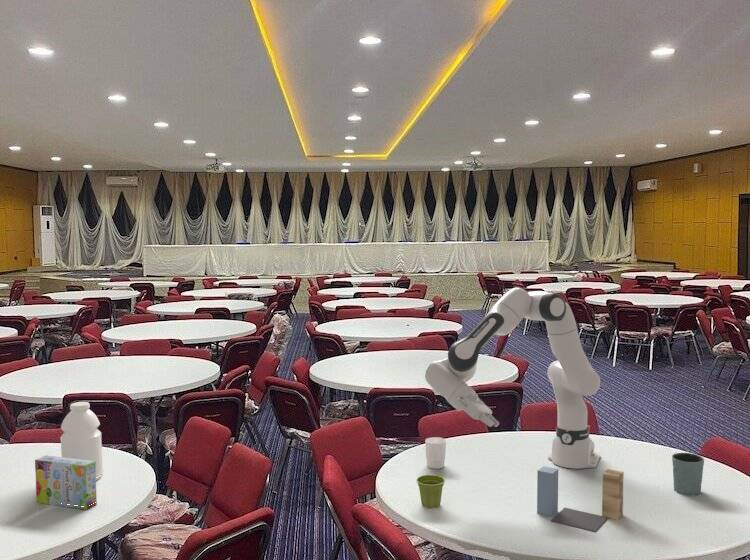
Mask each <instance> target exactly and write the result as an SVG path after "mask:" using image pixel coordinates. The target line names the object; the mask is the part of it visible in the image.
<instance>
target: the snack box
mask: <svg viewBox="0 0 750 560" xmlns="http://www.w3.org/2000/svg"><path fill="white" fill-rule="evenodd" d="M34 465H35V468H34V469H35V495H36V498H35V499H36V503H37V504H38V503H40V504H46V505H52V506H59V507H65V508H73V509H79V510H89V509H90V508H93V507H96V506H97V505H98V504H97V480H96V461H89V460H81V459H72V458H64V457H62V456H55V455H47V454H46V455H44V456H42V457H39V458H37V459H36V458H35V460H34ZM95 502H96V503H95ZM61 503H62V504H61ZM93 503H94V504H93ZM67 504H70V505H67ZM91 504H92V505H91ZM74 505H78V506H74ZM89 505H90V506H89ZM81 506H84V507H81Z"/></svg>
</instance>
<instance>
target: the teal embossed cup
mask: <svg viewBox="0 0 750 560" xmlns="http://www.w3.org/2000/svg"><path fill="white" fill-rule="evenodd" d="M671 458H672V459H671V460H672V476H673V489H674V491H675V492H676V493H677V494H680V495H685V496H698V495H701V494H702V482H703V473H704V472H703V470H704V464H705V458H704V457H703V456H701V455H698V454H695V453H693V452H691V453H690V452H677V453H673V454H672V455H671Z"/></svg>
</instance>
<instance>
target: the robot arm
mask: <svg viewBox="0 0 750 560" xmlns="http://www.w3.org/2000/svg"><path fill="white" fill-rule="evenodd" d="M523 319H525V320H530V321H536V322H542V321H543V322H544V323H545V326H546V328H545V329H546V331H547V337H548V340H549V345H550V348H551V352H552V354H553V355H554V356H555V358H556V359H557V360H554V361H552V362H551V363H550V364H549V365H548V368H547V371H546V372H547V373H546V375H547V378H548V381H550V383H551V386H552V389H553V391H554V392H553V393H554V396H555V400H556V408H557V425H556V428H555V435H556V436H555V437H554V438H552V444H551V454H549V455H548V457H547V459H548V460H549V461H552V463H553V464H555V465H556V466H559V467H562V468H567V469H577V470H578V469H586V468H587V469H590V468H591V469H592V468H594V469H595V468H597V465H598V463H599V460H600V459H601V454H600V453H598V452H596V451H595V442H594V441H593V440H592V439H591V438H590V430H591V425H590V424H589V425H588V407H587V405H586V403H585V401H584V399H583V396H586V397H588V396H593V395H595V394H596V393H597V392H598V391H599V389H600V386H601V378H600V375H599V374H598V372H597V371H596V370H595V369H594V368H593V366H592V365H591V363H590V361H589V360H588V358H587V355H586V354H585V353H586V352H585V351H584V349H583V346H582V343H581V339H580V335H579V330H578V326H577V322H576V319H575V316H574V313H573V310H572V309H571V306H570V305H569V303H567V302H566V301H565V299H564V298H563V296H561V295H560V294H559V293H557V292H554V291H543V290H534V291H532V290H531V291H530V290H525V289H523V288H521V287H513V288H511V289H509V290H508V291H507V292H506V293H504V294H503V295H502V296H501V297H500V298H499V299H498V300H497V301H495V304H493V306H491V308H490V309H489V310H488V313H487V314H486V315H485V317H484V318H483V319H482V320H480V322H479V323H478V324H477V325H476V326H475V327H474V329H473V330H472V331H471V332H469V334H468V335H466V336H465V337H464V338H461V339H459V340H457V341H455V342H454V343H452V344H451V346H450V347H449V349H448V352H447V358H445V359H441V360H440V359H439V360H434V361H432V362H431V363H430V364H429V366H428V367H427V369H426V371H425V375H424V376H425V377H424V379H425V381H426V382H427V384H428V385H429V386H430V387H431V388H432V389H433V390H434V391H435V393H437V394H438V395H439V396H441V397H444V398H445V400H446V402H447V403H448V404H450V405H451V406H452V407H453V408H455V410H456V411H458V412H461V411H464V412H465V413H466V414H467V415H468V416H469V417H470V418H471V419H473V420H480V421H481V422H482V423H484V424H485V425H487V427H489V428H490V427H495V428H497V427H498V426H499V425H500V421H498V420H497V419H496V418H495V417H494V416H493V415H492V414H493V411H492V409H491V408H490V407H489V406H488V405H486V404H485V402H484V401H483V400H482V399H481V398H480V397H479V394H478V393H476V391H475V390H474V389H473V388H472V387H471V386H470V385H468V384H467V382H469V380H471V379H472V378H473V377H474V375H475V374H476V372H477V363H478V359H479V355H480V352H481V350H482V348H484V346H485V345H486V344H487V343H488V342H489V341H490V340H491V339H492V338H493V336H495V335H497V336H501V337H502V336H506V335H507V336H508V334H510V333H511V332H512V331H513V330H514V329H515V328H517V326H519V324H520V323H521V322H522V321H523Z"/></svg>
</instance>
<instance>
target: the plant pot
mask: <svg viewBox="0 0 750 560" xmlns="http://www.w3.org/2000/svg"><path fill="white" fill-rule="evenodd" d="M445 482H446V478H445V477H444V476H441V475H437V474H424V475H420V476H418V477H417V478H416V483H417V486H418V488H419V489H418V490H419V494H420V495H419V496H420V501H421V502H420V503H421V505H422V507H423V508H426V509H433V508H435V509H436V508H439V507H440V506H441V502H442V494H443V487H444V483H445Z"/></svg>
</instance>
